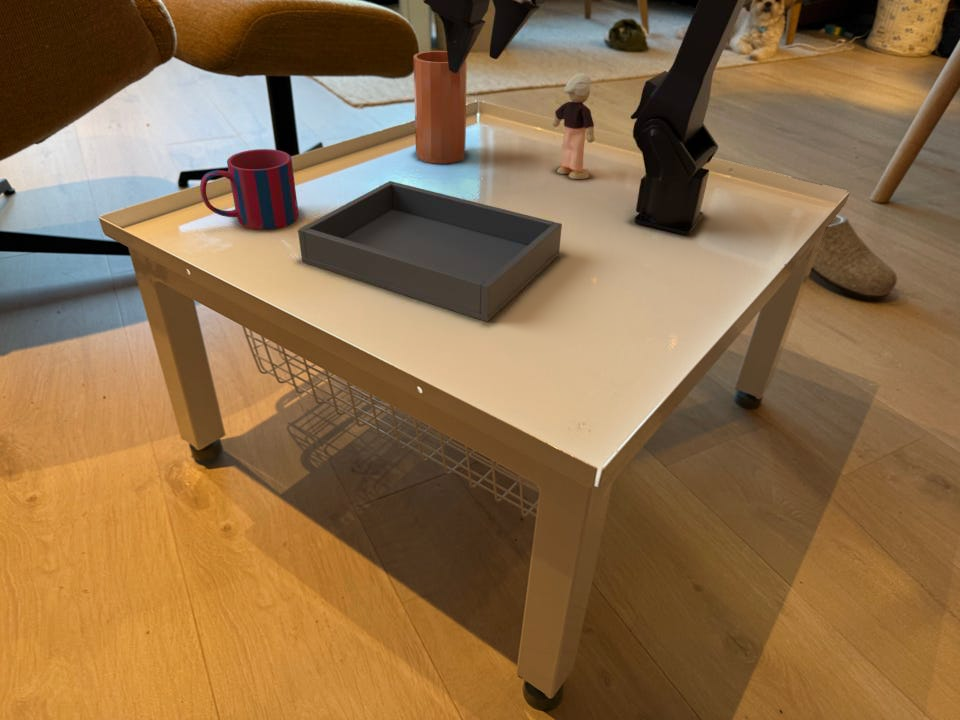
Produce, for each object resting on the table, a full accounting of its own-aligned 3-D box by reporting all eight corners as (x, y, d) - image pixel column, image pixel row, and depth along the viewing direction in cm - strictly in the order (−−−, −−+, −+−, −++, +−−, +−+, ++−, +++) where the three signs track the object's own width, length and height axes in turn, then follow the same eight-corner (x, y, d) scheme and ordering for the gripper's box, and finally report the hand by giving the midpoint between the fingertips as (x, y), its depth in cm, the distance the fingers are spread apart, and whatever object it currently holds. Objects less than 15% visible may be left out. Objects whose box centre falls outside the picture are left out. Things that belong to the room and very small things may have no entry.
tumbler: (473, 153, 99) (475, 55, 91) (448, 167, 94) (448, 65, 86) (433, 144, 101) (432, 48, 94) (406, 157, 97) (403, 57, 89)
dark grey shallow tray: (559, 255, 74) (562, 223, 71) (487, 322, 62) (489, 287, 60) (391, 209, 82) (389, 180, 80) (301, 261, 71) (297, 229, 69)
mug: (305, 224, 78) (298, 165, 74) (213, 240, 74) (200, 178, 70) (290, 202, 83) (282, 145, 79) (202, 216, 79) (189, 157, 75)
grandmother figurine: (601, 176, 93) (615, 76, 85) (584, 184, 90) (596, 81, 83) (556, 161, 97) (565, 65, 90) (538, 168, 95) (546, 69, 87)
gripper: (490, -106, 83) (462, 27, 94) (395, -104, 70) (374, 51, 81) (569, -74, 81) (531, 61, 91) (485, -65, 67) (451, 91, 78)
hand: (473, 64), depth 85 cm, fingers open, 9 cm apart
